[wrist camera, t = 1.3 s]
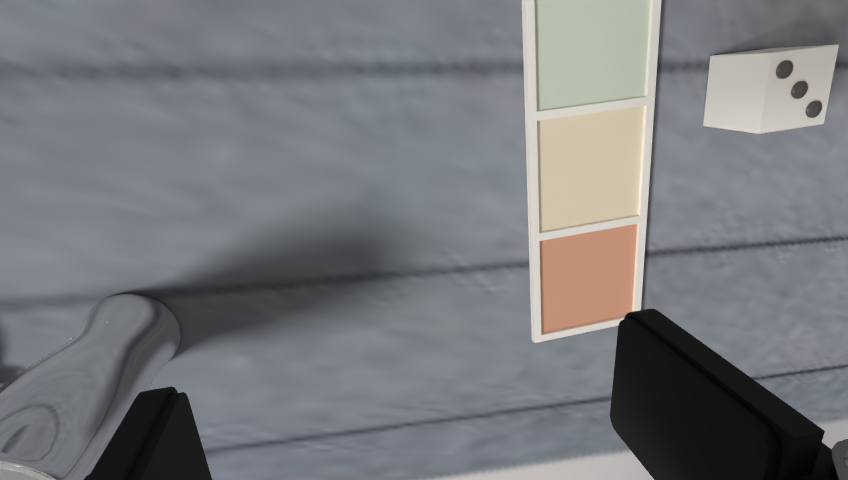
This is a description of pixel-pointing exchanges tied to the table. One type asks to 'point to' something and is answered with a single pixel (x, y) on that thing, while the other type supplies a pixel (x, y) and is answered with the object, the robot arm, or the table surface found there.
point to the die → (769, 88)
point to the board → (587, 158)
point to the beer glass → (83, 389)
